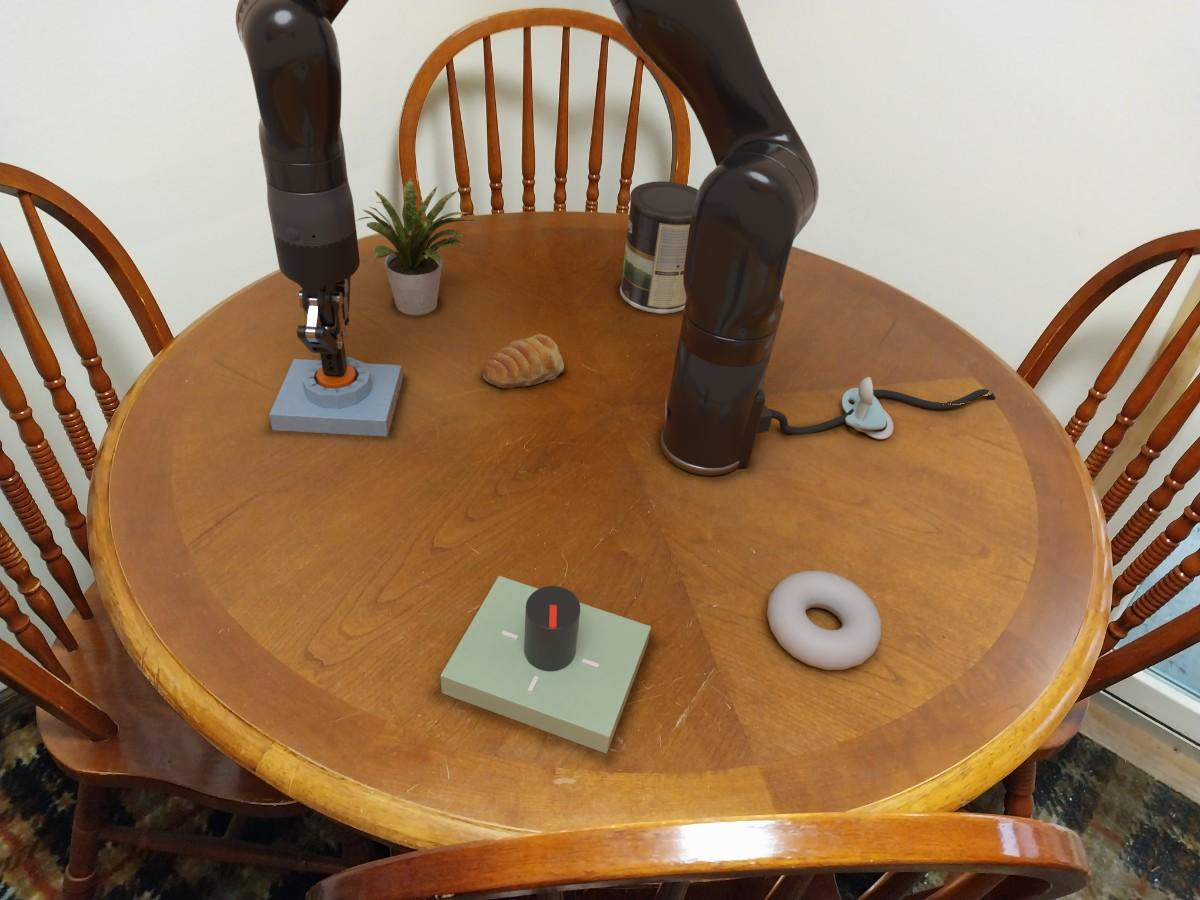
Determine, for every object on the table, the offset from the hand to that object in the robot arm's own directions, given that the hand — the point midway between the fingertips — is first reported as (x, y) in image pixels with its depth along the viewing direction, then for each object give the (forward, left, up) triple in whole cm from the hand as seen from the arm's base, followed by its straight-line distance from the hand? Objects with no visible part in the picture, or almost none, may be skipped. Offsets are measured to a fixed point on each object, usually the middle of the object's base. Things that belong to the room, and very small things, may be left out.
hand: (335, 372), depth 91 cm
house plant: (-5, -20, -5) cm, 21 cm away
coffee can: (-37, -28, -5) cm, 47 cm away
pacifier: (-60, -2, -5) cm, 60 cm away
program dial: (-24, +33, -2) cm, 41 cm away
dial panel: (-24, +33, -4) cm, 41 cm away
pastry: (-20, -8, -5) cm, 22 cm away
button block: (0, 0, -4) cm, 4 cm away
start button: (0, 0, -2) cm, 2 cm away
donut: (-48, +28, -5) cm, 56 cm away
